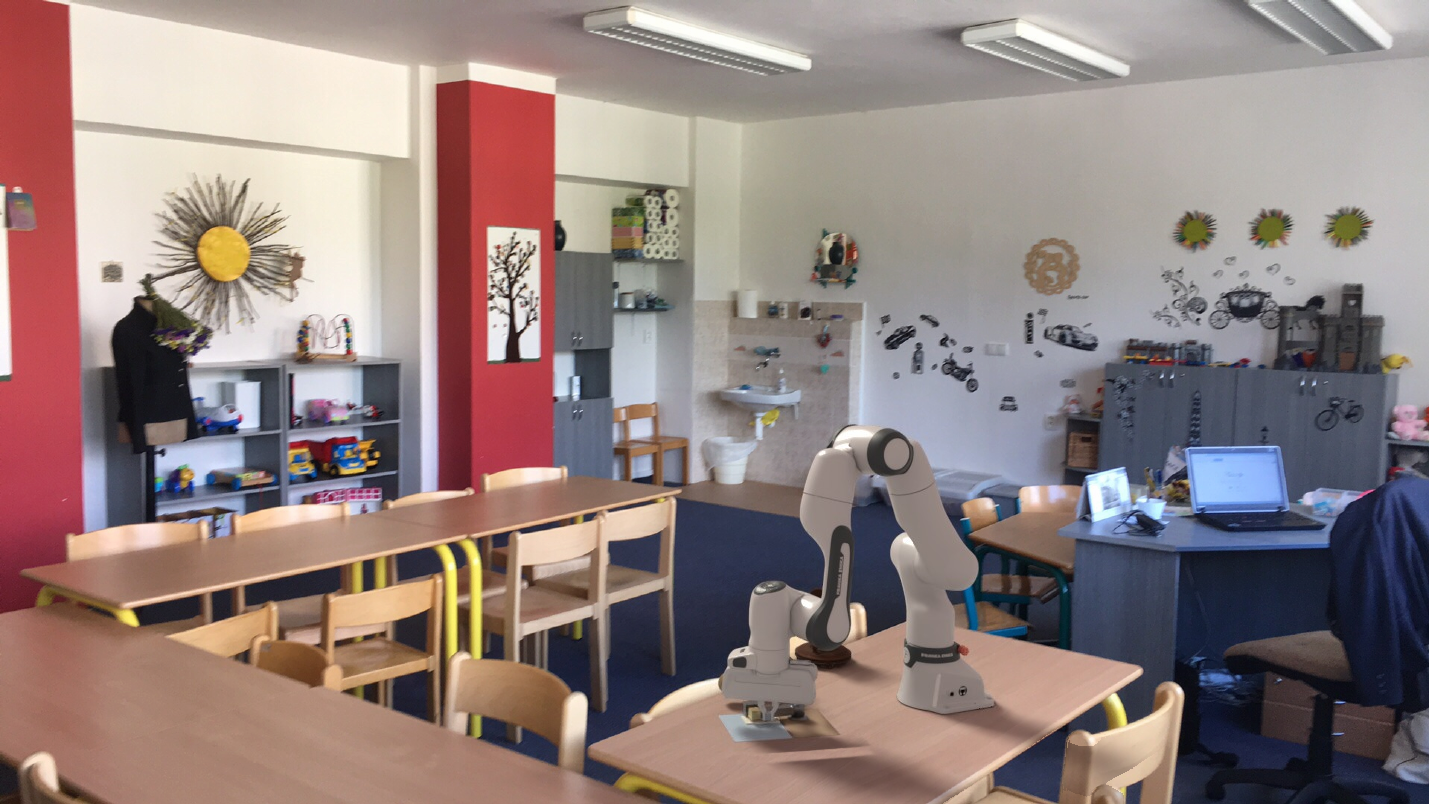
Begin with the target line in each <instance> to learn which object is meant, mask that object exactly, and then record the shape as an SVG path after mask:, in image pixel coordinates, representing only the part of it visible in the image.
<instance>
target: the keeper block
mask: <svg viewBox="0 0 1429 804" xmlns="http://www.w3.org/2000/svg"><path fill="white" fill-rule="evenodd" d="M742 702H743V703H742V714H743V715H744V716H745V717H748V711H749V708H752V707H758V701H754V700H743V701H742Z"/></svg>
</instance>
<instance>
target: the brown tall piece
mask: <svg viewBox="0 0 1429 804" xmlns="http://www.w3.org/2000/svg"><path fill="white" fill-rule="evenodd" d="M822 591H823V586H822V587H821V588H820V587H816V588H813V589H812V590H811V591H810V592H809V594H811V595H814V596H816V597H818V598H821V597H822ZM794 656H795V659H797V660H809V661H811V663H814V664H815V665H816V664H817V665H828V668H829V670H832V669H833V668H834V667H833V666H834V665H839V664H843V663H847V662H849V661H851V659H852V650H850V649H849V648H847V647H846V646H844V645H843V644H842V645H840V646H839V647H838V648H836V649H834V650H831V651H823V650H820V649H819V648H817V647H815V646H814V645H812V644H811V643H809V642H807V641H806V642H804V643H802V644H800V645H798V646H796V647H795V649H794Z"/></svg>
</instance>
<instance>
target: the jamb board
mask: <svg viewBox="0 0 1429 804" xmlns="http://www.w3.org/2000/svg"><path fill="white" fill-rule="evenodd" d="M778 719H779V720H780V721H781V722H782V723H783V724H784V726H785V728H786V729H788V731H789V732H790V734H792V737H794V738H795V739H797V738H814V737H815V738H817V737H830V736H840V735H841V733H840V732H839V731H838V730H837V729H836V728H835V727H834V725H833V724H832V723H831V722H830V721H829V720H828V719H827V718H826V717H825V716H824V714H823V713H822V712H821V711H820V710H819V709H818V708H815V709H805V716H804V717H793V716H791V715H790V716H781V717H778Z"/></svg>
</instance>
